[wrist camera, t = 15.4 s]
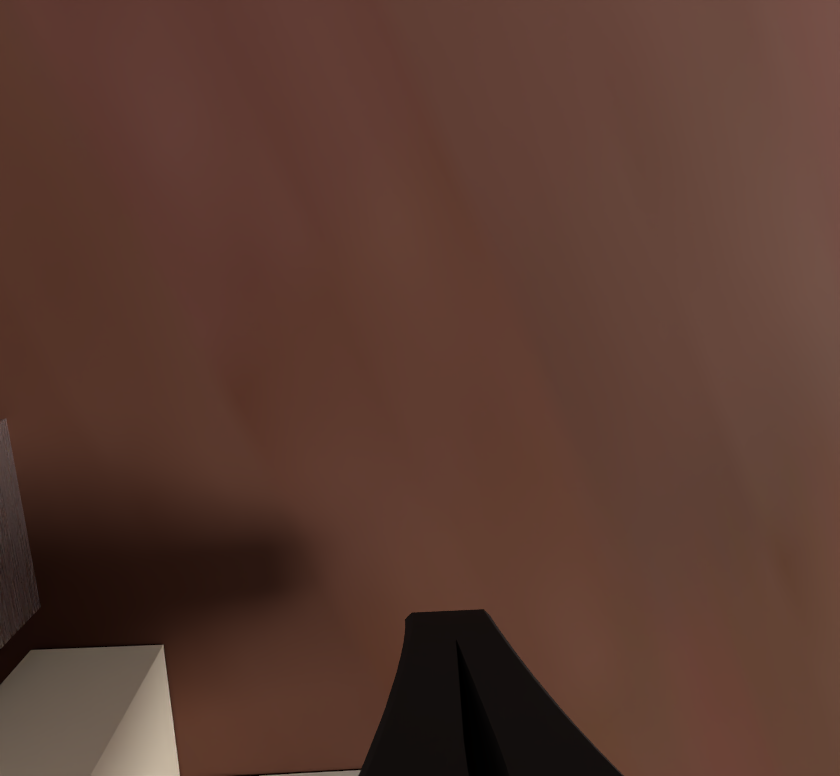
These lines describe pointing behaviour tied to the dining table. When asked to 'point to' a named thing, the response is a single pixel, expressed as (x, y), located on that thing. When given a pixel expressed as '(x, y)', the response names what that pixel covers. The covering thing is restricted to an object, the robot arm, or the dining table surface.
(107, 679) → the wall shelf
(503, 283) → the dining table surface
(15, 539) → the block
